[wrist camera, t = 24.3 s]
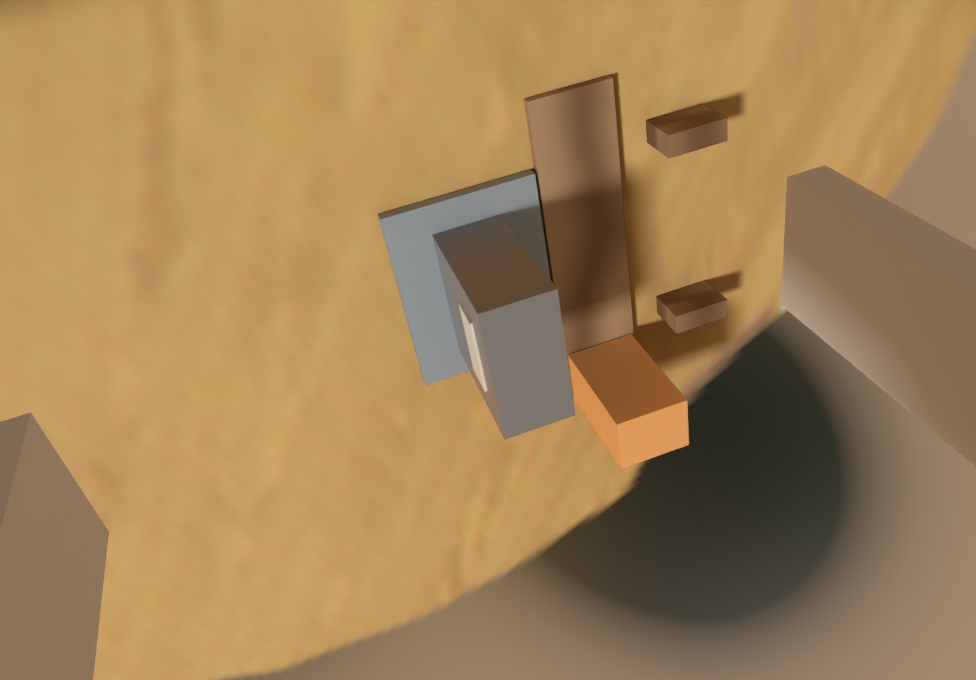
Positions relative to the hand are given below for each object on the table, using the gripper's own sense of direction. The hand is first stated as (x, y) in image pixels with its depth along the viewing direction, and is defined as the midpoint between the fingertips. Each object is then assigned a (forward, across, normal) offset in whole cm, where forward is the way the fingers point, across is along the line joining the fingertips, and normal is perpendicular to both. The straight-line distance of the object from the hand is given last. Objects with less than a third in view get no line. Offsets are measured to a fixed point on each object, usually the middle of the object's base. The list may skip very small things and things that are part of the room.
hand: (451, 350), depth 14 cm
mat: (+35, +7, -20) cm, 41 cm away
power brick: (+34, +7, -20) cm, 40 cm away
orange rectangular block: (+35, +15, -30) cm, 48 cm away
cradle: (+35, +18, -21) cm, 44 cm away
